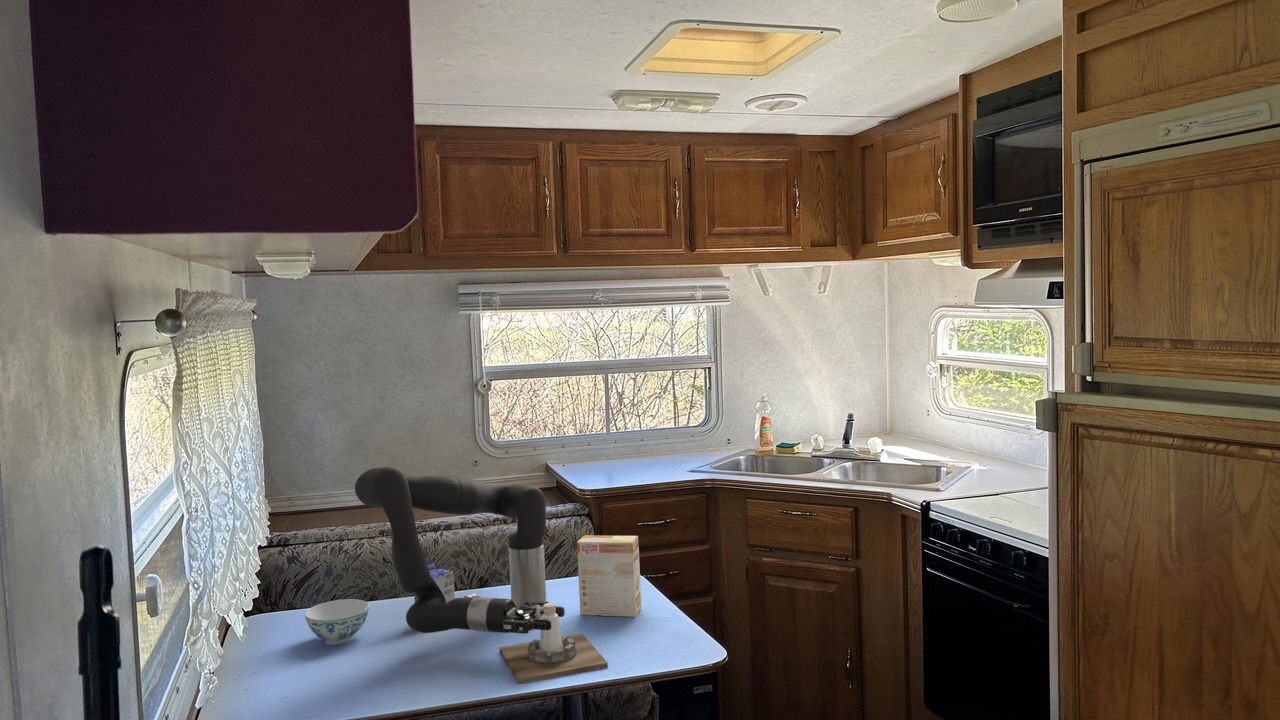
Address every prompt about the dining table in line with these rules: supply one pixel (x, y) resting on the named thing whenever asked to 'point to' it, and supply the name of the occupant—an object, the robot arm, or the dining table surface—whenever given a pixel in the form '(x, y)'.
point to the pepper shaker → (551, 631)
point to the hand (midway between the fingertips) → (557, 618)
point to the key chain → (472, 596)
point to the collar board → (552, 659)
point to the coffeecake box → (609, 575)
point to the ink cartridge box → (443, 582)
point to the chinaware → (337, 619)
